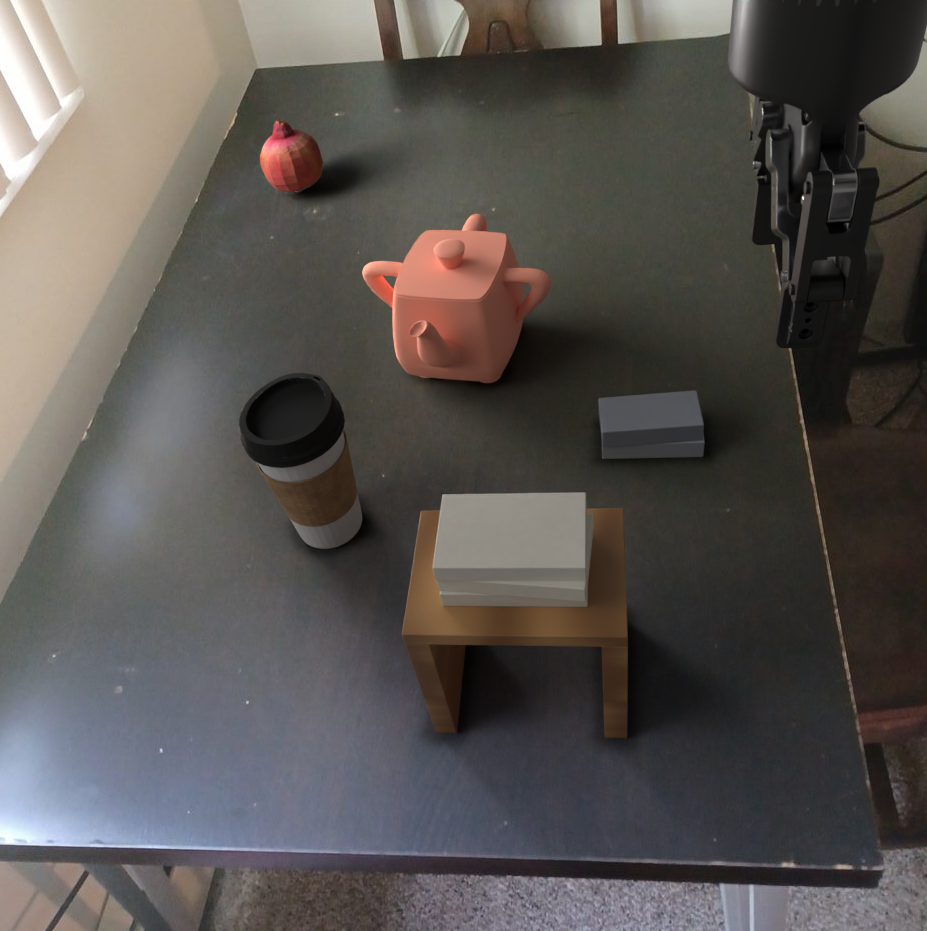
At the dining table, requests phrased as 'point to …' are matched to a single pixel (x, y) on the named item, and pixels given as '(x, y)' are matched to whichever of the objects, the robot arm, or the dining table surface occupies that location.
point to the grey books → (651, 426)
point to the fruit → (290, 158)
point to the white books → (521, 588)
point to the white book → (511, 537)
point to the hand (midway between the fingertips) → (783, 288)
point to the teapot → (458, 302)
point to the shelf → (519, 624)
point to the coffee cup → (304, 456)
